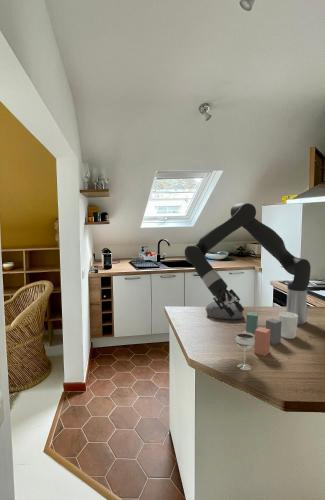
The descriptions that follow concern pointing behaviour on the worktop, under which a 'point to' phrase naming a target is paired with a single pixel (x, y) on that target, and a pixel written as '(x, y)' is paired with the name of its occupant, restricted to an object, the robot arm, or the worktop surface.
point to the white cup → (288, 324)
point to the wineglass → (245, 345)
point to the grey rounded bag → (222, 311)
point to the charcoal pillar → (274, 330)
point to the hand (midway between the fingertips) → (238, 313)
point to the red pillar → (262, 341)
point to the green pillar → (251, 322)
